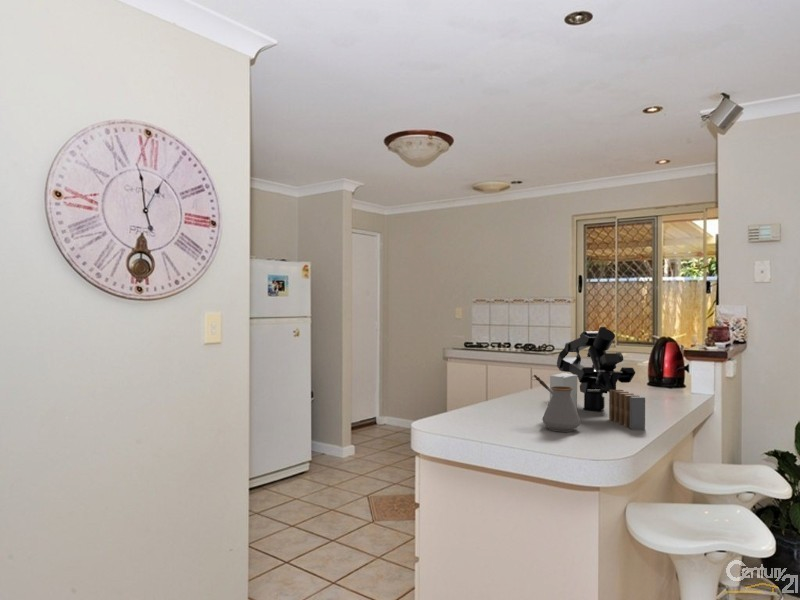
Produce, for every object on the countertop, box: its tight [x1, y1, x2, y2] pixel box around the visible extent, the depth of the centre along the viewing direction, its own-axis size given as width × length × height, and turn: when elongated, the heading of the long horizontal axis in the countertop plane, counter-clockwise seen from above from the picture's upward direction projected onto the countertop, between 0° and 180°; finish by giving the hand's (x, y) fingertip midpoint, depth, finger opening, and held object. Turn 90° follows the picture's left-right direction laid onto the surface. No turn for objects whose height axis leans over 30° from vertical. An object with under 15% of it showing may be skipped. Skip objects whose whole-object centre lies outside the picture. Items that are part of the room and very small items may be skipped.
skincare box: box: [549, 372, 578, 411], centre depth 184 cm, size 8×6×15 cm
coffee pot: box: [531, 374, 582, 433], centre depth 172 cm, size 21×12×15 cm, turn 19°
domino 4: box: [623, 394, 641, 428], centre depth 172 cm, size 2×4×10 cm, turn 95°
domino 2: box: [613, 390, 630, 423], centre depth 179 cm, size 2×4×10 cm, turn 95°
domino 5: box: [628, 396, 646, 431], centre depth 169 cm, size 2×4×10 cm, turn 95°
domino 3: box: [618, 392, 635, 426], centre depth 176 cm, size 2×4×10 cm, turn 95°
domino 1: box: [608, 389, 625, 421], centre depth 182 cm, size 2×4×10 cm, turn 95°
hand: (614, 394), depth 184 cm, fingers closed
